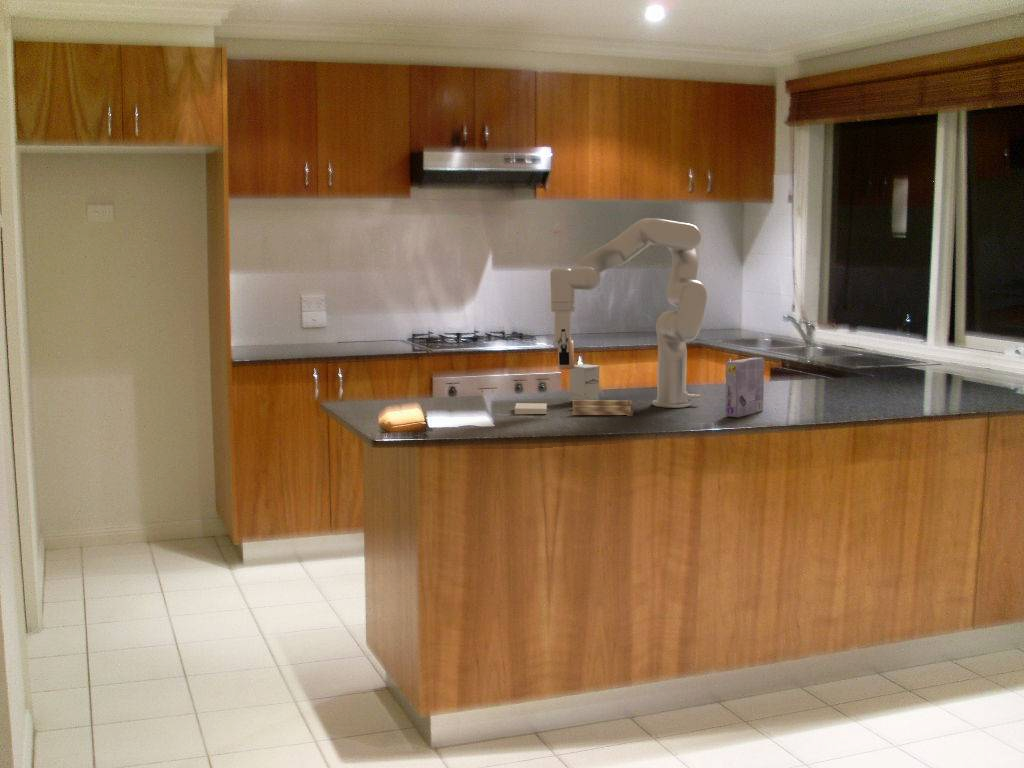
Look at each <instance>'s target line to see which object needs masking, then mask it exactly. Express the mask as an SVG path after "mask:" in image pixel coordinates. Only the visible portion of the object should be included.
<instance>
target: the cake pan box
mask: <svg viewBox="0 0 1024 768" xmlns="http://www.w3.org/2000/svg"><path fill="white" fill-rule="evenodd" d="M764 377H765V357H749V358H743V359H736V360H731V361H725V417H730V418H736V419H738V418H741V417H745V416H750V415H754V414H756V413H760V412H763V411H764V396H765V395H764V392H765V391H764V390H765V389H764V388H765V387H764V386H765V385H764V384H765V383H764V381H765V378H764Z"/></svg>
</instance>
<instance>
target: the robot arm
mask: <svg viewBox="0 0 1024 768" xmlns="http://www.w3.org/2000/svg"><path fill="white" fill-rule="evenodd" d="M701 239H702V234H701V231H700V229H699V228H698V227H697V226H696V225H694V224H691V223H688V222H687V223H686V222H681V221H674V220H668V219H663V218H656V217H645V218H642V219H639V220H638V221H636V222H634V224H632V225H631V226H629V227H628V228H627V229H626V230H624V231H623V232H621V233H620V234H619V235H617V236H616V237H615V238H613V239H612V240H611V241H609V242H607V243H605V244H603V245H602V246H600V247H598V248H596V249H595V250H593V251H591V252H589V253H588V254H586V255H585V256H583V257H581V258H580V259H579V260H578V261H577V262H575V263H574V264H573V265H571V266H570V267H555V268H552V269H551V271H550V275H549V276H550V277H549V278H550V280H549V281H550V309H551V313H554V317H553V318H554V342H555V344H558V342H559V344H560V352H559V365H569V352H568V343H569V342H570V338H572V337H571V335H572V313H573V312H575V311H576V307H575V306H576V304H575V303H576V300H575V299H576V298H575V290H580V291H581V290H582V291H592V290H594V289H596V288H597V287H598V286H599V285H600V282H601V274H600V273H602V272H604V271H606V270H609V269H612V268H615V267H620V266H622V265H624V264H627V263H628V262H629V261H631V260H632V259H633V258H635V257H636V256H638V255H639V254H640V253H641V252H643V251H644V250H645V249H647V248H648V247H649V246H659V247H665V248H667V249H668V251H669V252H670V256H671V260H672V264H671V269H670V275H669V279H668V285H667V288H666V289H667V290H666V294H665V295H666V297H665V298H666V301H667V302H668V303H669V304H670V305H671V306H673V307H677V310H671V309H670V310H666V311H664V312H662V313H661V314H660V315H659V316H658V318H657V319H656V322H655V323H656V325H655V330H656V331H655V333H656V338H657V387H656V388H657V390H656V393H657V394H656V395H657V396H656V399H653V400H652V403H651V404H652V405H653V406H654V407H659V408H667V409H668V408H669V409H670V408H671V409H672V408H673V409H674V408H675V409H676V408H677V409H678V408H687V407H690V406H691V401H701V394H695V393H692V394H691V393H688V391H687V363H688V362H687V359H688V349H687V343H689V342H692V341H694V340H695V339H696V338H697V337H698V335H699V334H700V331H701V328H702V323H703V320H704V316H705V310H706V305H707V300H708V299H707V298H708V294H707V289H706V287H705V285H704V284H703V282H701V281H699V280H697V275H698V269H699V257H698V252H697V250H696V248H698V247H699V245H700V243H701V241H702V240H701ZM561 341H562V342H561ZM566 341H567V342H566ZM566 348H567V350H566ZM566 351H567V352H566ZM559 365H558V366H559Z"/></svg>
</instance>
